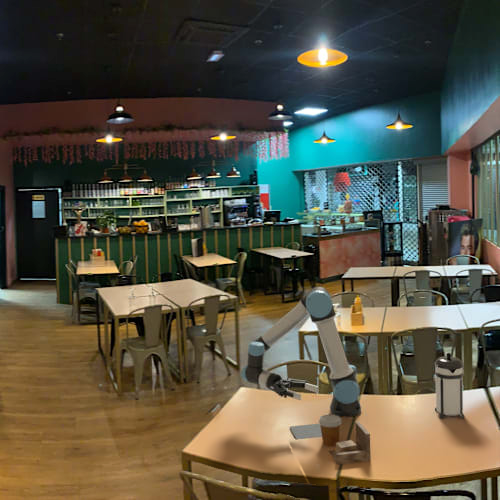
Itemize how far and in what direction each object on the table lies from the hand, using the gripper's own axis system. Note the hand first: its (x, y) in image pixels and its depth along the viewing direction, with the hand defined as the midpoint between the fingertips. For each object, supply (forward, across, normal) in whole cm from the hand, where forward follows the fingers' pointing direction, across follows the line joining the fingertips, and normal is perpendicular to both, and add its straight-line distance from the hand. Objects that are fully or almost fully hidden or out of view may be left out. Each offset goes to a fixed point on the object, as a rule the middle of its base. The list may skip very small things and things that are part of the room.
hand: (309, 393), depth 242 cm
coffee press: (+41, -60, -13) cm, 74 cm away
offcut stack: (+25, +8, -17) cm, 31 cm away
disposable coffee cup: (+13, +1, -19) cm, 23 cm away
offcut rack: (+25, +7, -18) cm, 32 cm away
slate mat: (-2, -4, -20) cm, 21 cm away
